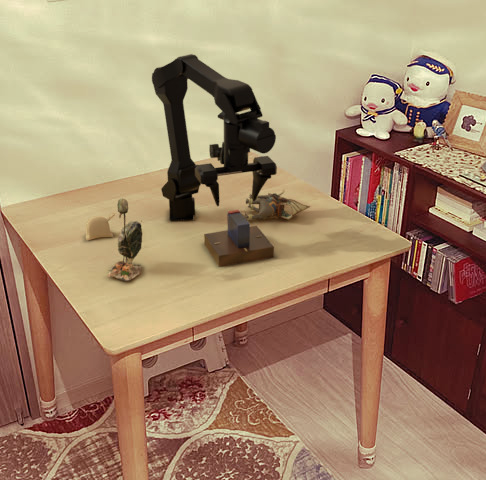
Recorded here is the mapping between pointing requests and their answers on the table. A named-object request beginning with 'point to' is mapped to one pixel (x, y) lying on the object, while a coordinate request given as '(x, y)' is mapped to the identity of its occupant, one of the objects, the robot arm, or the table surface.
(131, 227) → the plant with pod
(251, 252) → the brown slab
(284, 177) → the table surface
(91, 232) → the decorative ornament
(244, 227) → the blue block
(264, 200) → the figurine
